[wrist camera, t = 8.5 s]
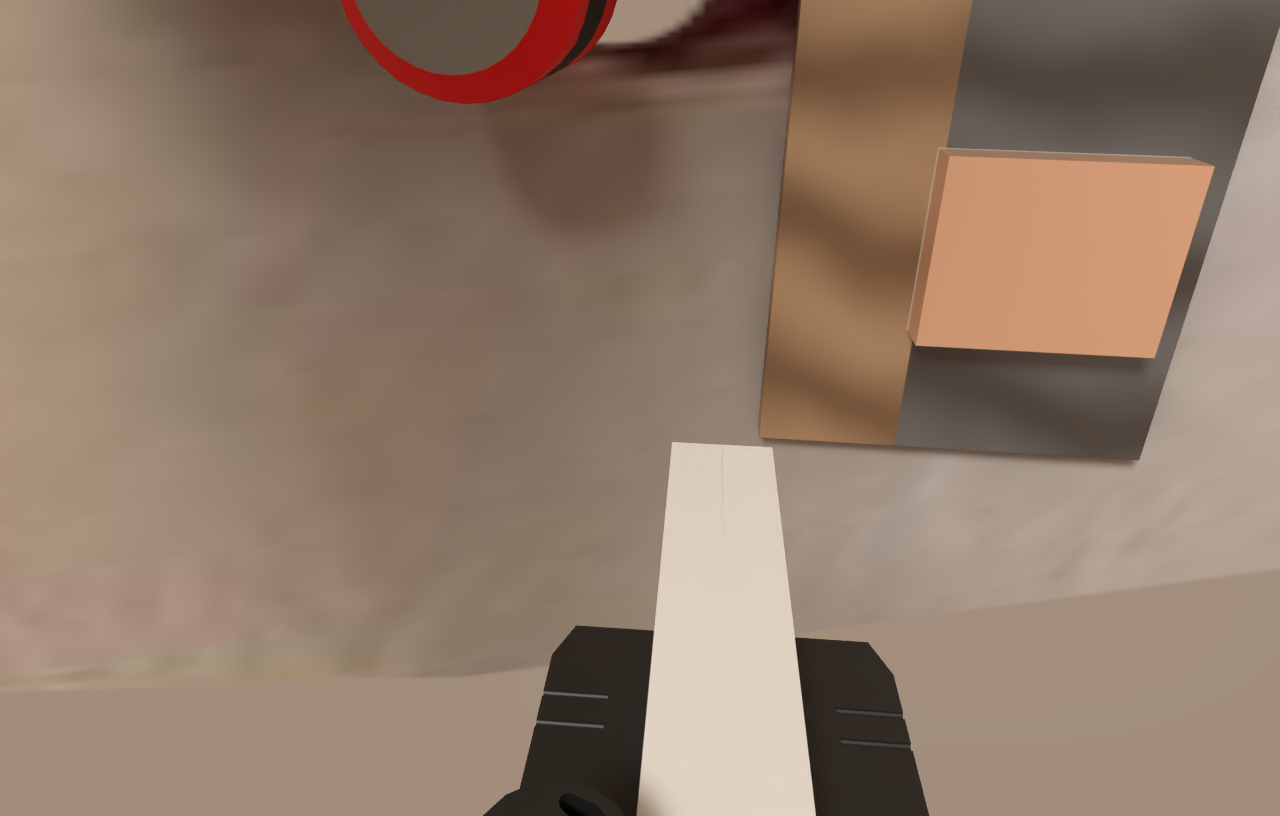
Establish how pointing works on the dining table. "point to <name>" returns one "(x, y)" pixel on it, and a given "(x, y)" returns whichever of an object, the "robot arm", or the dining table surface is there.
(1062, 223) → the tile
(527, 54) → the soda can
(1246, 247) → the dining table surface
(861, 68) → the board
